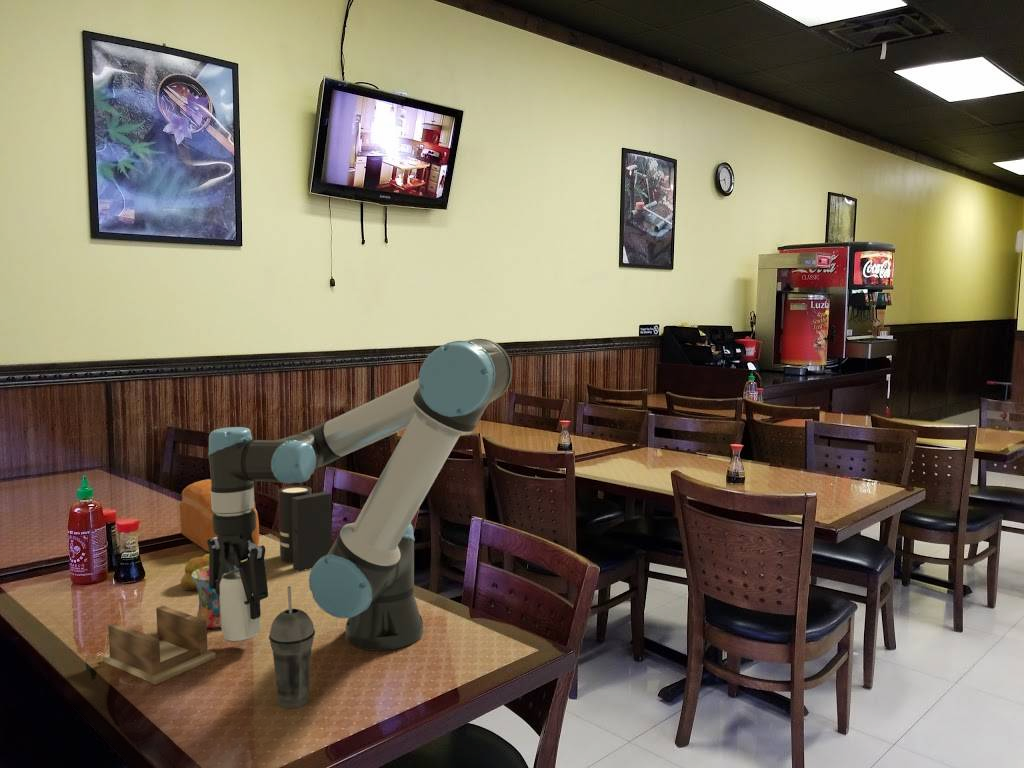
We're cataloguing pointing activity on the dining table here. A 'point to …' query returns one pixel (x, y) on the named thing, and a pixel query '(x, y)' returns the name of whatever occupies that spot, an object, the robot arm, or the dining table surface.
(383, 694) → the dining table surface
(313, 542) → the light fixture
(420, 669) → the dining table surface
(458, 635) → the dining table surface
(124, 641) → the caddy
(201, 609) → the mug
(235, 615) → the can
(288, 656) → the beverage cup
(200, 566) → the ginger root
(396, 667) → the dining table surface
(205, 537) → the bread
